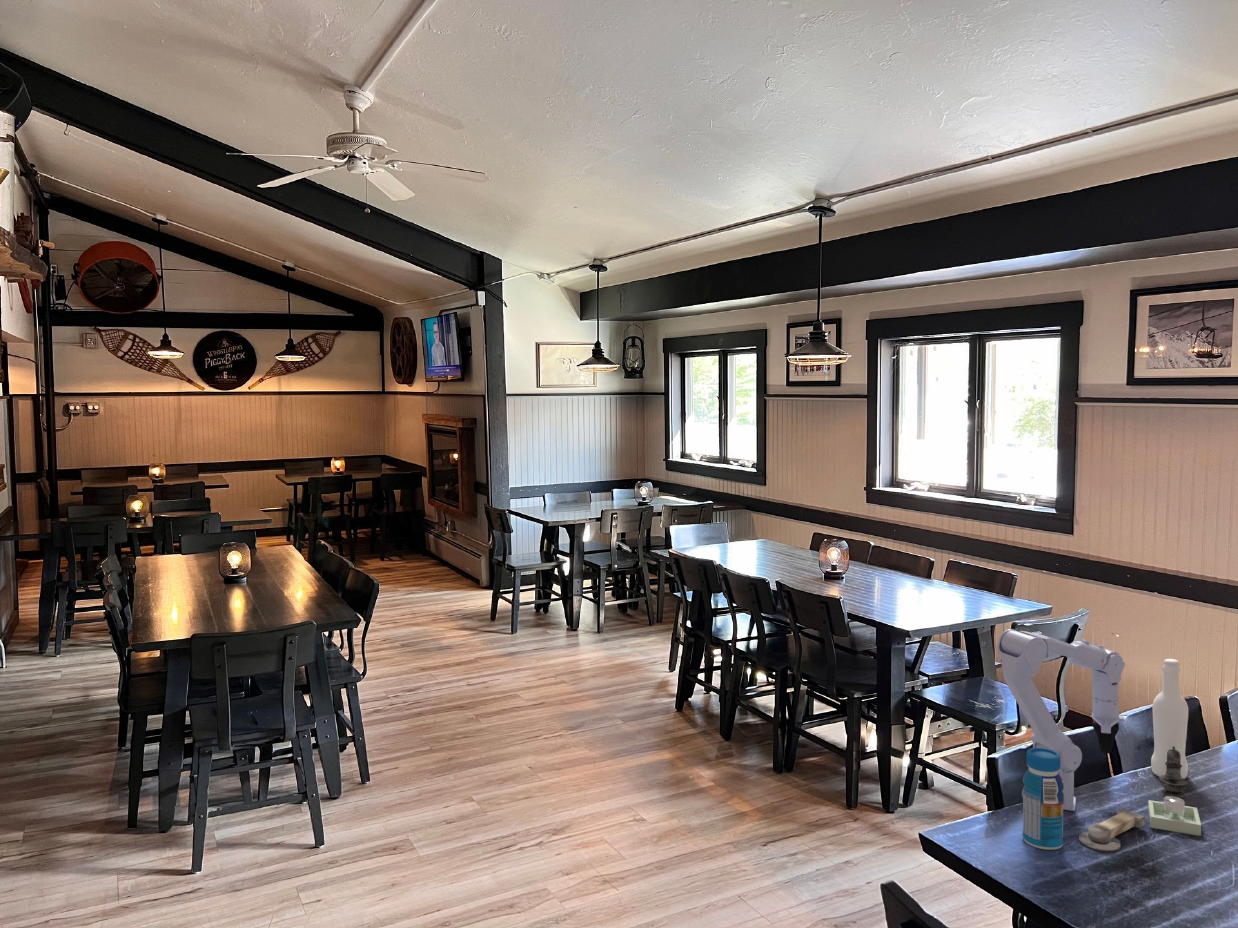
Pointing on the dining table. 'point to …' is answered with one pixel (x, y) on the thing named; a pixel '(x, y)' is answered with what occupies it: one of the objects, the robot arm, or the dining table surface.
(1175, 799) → the piston stop
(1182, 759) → the bottle
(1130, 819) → the beige flat bar
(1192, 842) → the dining table surface
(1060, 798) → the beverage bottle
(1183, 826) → the tray
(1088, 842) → the crank base
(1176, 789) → the dark grey tiered tower
